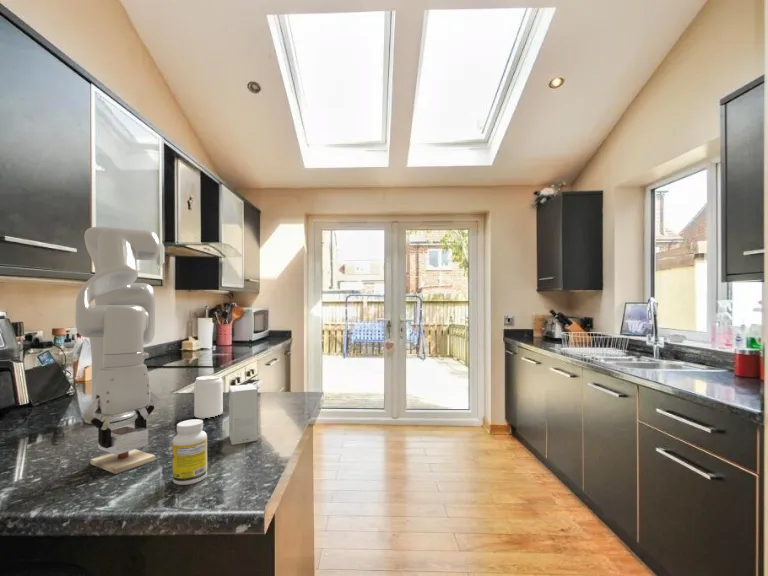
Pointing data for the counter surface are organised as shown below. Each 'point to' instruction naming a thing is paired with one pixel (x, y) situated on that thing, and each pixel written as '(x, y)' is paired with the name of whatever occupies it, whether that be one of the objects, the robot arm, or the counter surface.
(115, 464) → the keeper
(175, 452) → the pill bottle
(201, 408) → the beverage can
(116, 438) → the white hollow block
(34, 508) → the counter surface
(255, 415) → the small box
